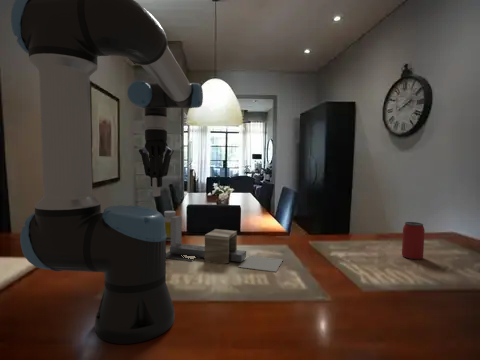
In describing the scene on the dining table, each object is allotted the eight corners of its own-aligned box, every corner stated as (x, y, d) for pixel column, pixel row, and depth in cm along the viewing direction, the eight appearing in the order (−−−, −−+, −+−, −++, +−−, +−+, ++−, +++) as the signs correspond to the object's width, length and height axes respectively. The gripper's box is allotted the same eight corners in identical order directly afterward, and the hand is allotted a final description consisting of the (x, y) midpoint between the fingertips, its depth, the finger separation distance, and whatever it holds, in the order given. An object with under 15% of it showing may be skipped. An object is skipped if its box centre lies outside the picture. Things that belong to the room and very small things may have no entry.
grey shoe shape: (191, 261, 101) (191, 260, 101) (159, 257, 105) (159, 256, 105) (206, 251, 113) (206, 250, 113) (177, 248, 117) (177, 247, 117)
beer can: (417, 254, 112) (419, 221, 111) (426, 260, 106) (428, 225, 105) (398, 254, 113) (400, 221, 112) (406, 259, 106) (408, 225, 105)
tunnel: (227, 264, 99) (227, 237, 99) (204, 261, 102) (204, 234, 101) (236, 256, 108) (236, 231, 107) (215, 253, 110) (215, 229, 109)
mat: (276, 272, 93) (276, 271, 93) (237, 267, 96) (237, 266, 96) (283, 260, 104) (283, 259, 104) (248, 256, 108) (249, 255, 108)
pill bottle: (175, 241, 125) (176, 213, 125) (160, 241, 126) (159, 212, 125) (179, 237, 132) (179, 210, 131) (164, 237, 132) (164, 210, 131)
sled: (241, 262, 100) (242, 223, 99) (169, 253, 108) (169, 217, 107) (246, 257, 104) (246, 220, 104) (177, 249, 113) (177, 215, 112)
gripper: (177, 130, 111) (177, 195, 113) (146, 130, 115) (147, 193, 117) (166, 128, 104) (166, 198, 106) (133, 128, 108) (134, 196, 110)
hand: (156, 195), depth 111 cm, fingers closed
